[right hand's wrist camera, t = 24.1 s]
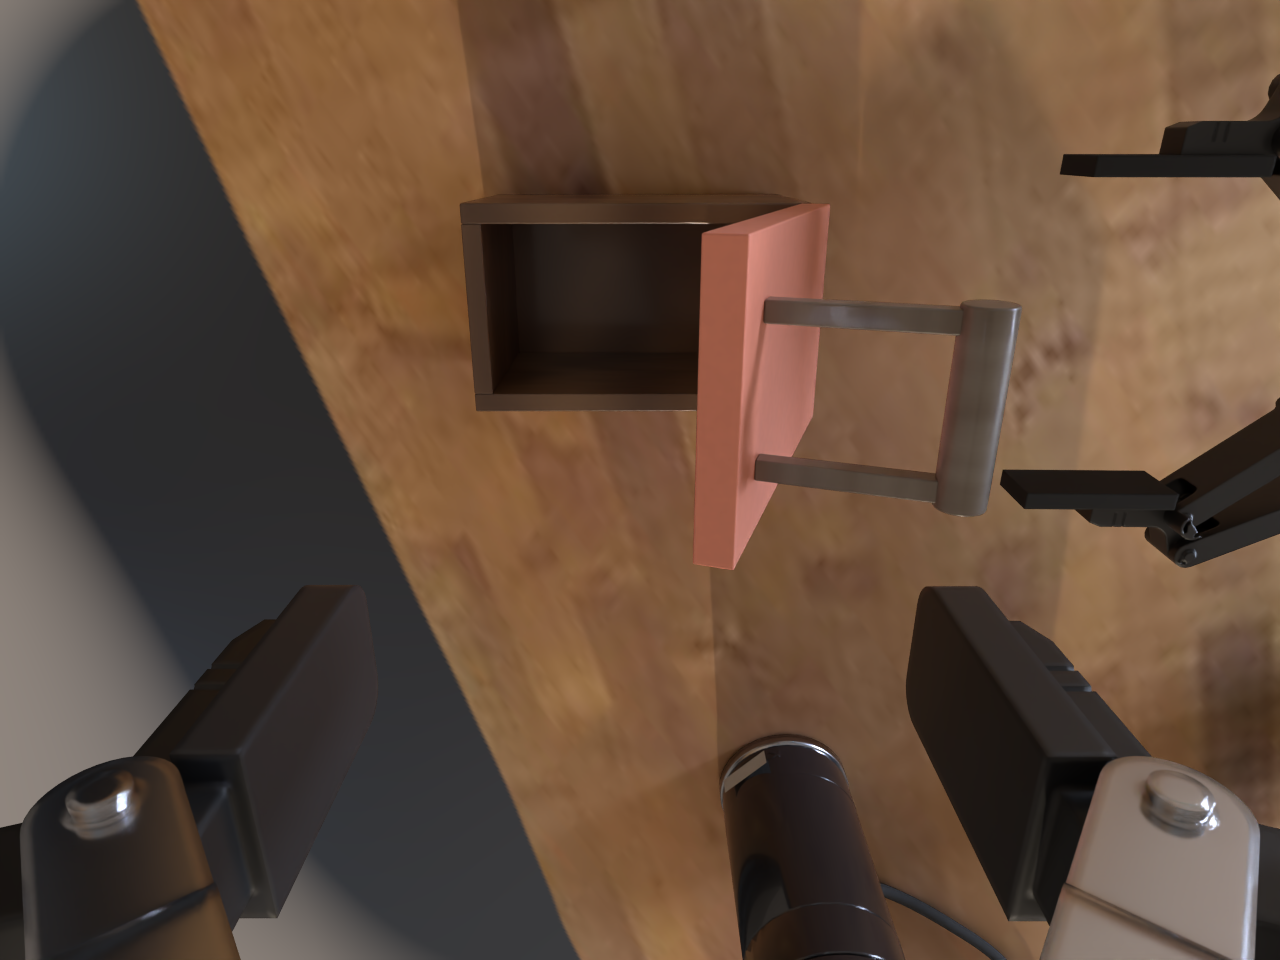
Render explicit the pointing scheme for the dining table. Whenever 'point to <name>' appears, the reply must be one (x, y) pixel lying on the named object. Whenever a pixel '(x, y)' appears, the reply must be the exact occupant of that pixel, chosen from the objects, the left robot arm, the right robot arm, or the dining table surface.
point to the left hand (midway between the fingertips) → (1041, 339)
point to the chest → (591, 297)
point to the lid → (786, 375)
